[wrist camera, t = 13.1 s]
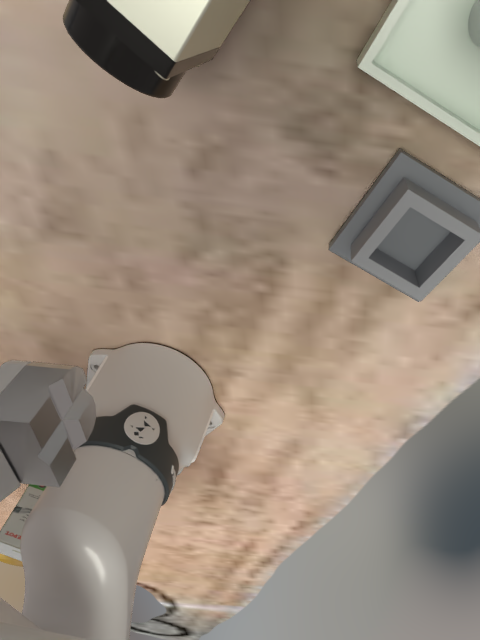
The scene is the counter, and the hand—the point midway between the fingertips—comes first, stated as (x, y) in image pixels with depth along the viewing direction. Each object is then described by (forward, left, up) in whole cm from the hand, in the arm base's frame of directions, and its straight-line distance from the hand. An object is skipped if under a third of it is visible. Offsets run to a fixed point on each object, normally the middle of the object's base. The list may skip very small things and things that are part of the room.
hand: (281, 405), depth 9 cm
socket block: (-5, -12, -33) cm, 35 cm away
